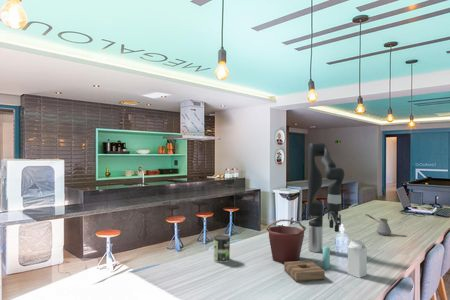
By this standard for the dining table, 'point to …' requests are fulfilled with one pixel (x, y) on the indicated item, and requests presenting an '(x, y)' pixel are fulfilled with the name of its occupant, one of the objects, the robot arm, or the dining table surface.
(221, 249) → the coffee can
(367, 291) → the dining table surface
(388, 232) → the coffee pot
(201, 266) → the dining table surface
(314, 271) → the bore block
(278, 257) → the bucket
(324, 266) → the dowel
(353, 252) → the milk carton
